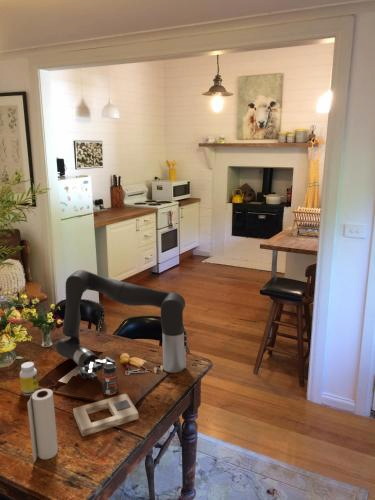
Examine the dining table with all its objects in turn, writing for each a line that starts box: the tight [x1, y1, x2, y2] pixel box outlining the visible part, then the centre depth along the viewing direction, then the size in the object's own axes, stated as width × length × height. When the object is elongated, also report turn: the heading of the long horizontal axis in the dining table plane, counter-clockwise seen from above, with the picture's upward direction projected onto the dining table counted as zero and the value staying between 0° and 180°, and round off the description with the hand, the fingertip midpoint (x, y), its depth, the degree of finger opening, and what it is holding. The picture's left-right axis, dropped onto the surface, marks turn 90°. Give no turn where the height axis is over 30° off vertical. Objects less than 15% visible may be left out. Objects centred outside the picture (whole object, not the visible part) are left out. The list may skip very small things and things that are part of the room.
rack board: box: [72, 393, 140, 437], centre depth 147 cm, size 20×13×3 cm, turn 117°
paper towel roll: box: [26, 388, 59, 463], centre depth 127 cm, size 7×6×21 cm
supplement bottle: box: [101, 364, 119, 394], centre depth 161 cm, size 6×6×11 cm
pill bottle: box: [19, 361, 40, 396], centre depth 161 cm, size 6×6×12 cm
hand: (106, 374), depth 162 cm, fingers open, 8 cm apart
